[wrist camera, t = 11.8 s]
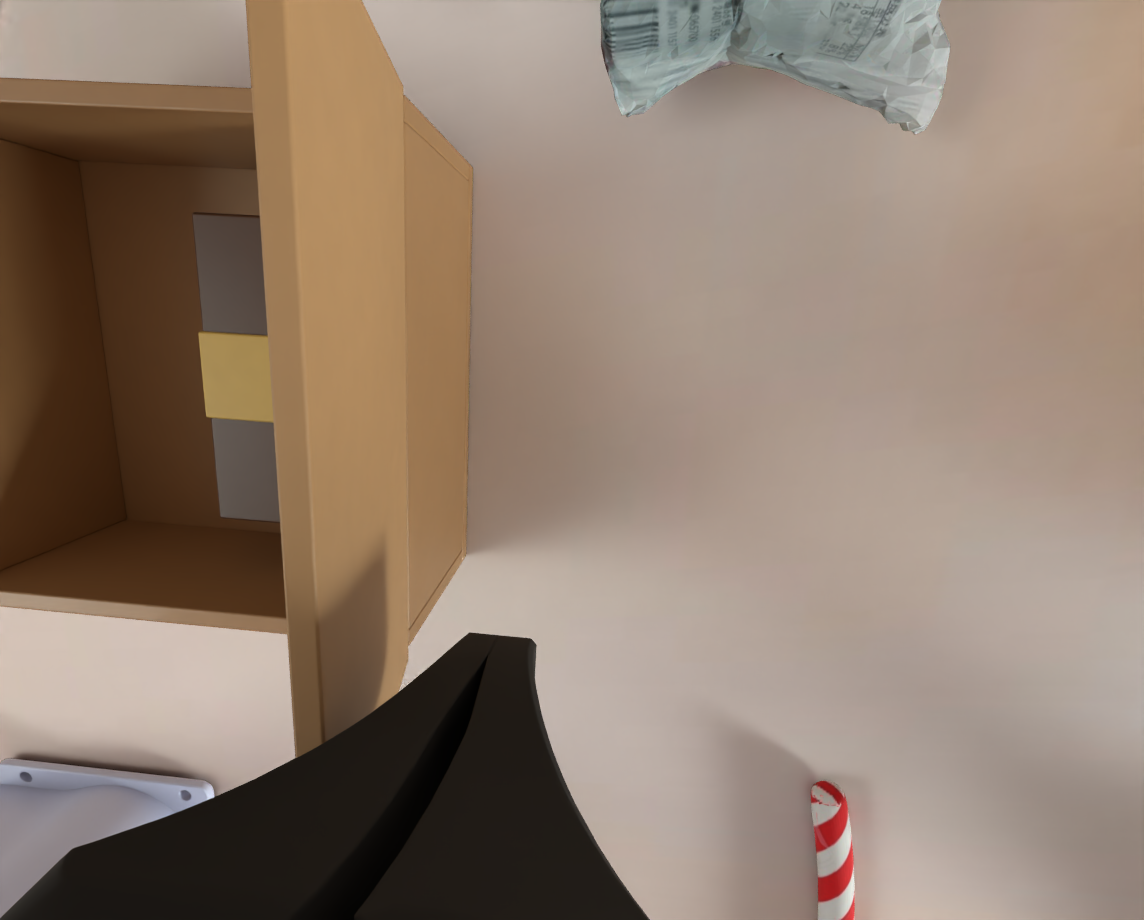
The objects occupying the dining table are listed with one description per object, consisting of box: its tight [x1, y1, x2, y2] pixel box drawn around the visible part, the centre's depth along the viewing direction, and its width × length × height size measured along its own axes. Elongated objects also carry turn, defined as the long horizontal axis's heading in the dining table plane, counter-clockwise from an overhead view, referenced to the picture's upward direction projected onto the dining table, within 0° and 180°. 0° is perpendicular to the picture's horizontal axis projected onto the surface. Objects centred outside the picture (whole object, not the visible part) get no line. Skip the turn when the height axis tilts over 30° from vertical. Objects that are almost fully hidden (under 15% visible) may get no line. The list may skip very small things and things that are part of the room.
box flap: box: [246, 0, 408, 758], centre depth 10 cm, size 6×13×1 cm
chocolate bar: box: [192, 212, 280, 523], centre depth 17 cm, size 8×4×4 cm, turn 177°
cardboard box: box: [0, 78, 473, 646], centre depth 17 cm, size 13×13×6 cm
